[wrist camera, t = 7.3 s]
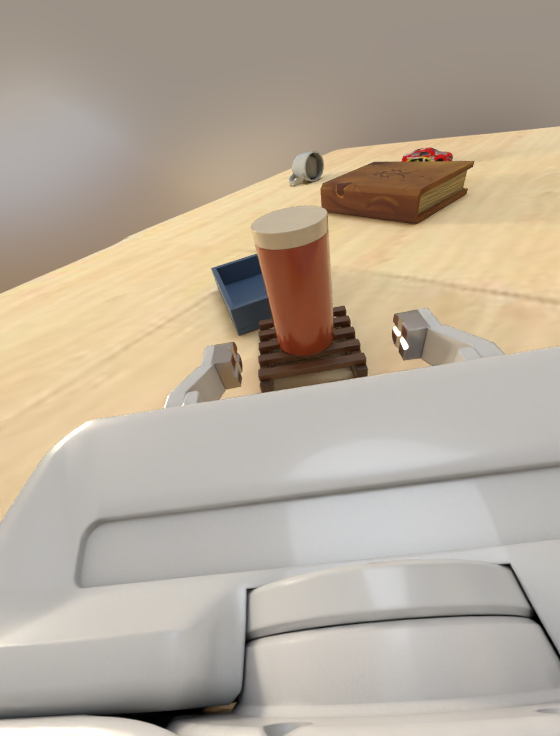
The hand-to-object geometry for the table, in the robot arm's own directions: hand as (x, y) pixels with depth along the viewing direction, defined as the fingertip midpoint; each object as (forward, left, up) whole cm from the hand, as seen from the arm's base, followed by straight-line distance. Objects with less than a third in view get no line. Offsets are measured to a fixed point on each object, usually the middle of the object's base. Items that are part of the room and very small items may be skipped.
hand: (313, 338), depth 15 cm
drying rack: (+12, +3, -11) cm, 17 cm away
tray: (+25, +11, -11) cm, 29 cm away
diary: (+62, -8, -12) cm, 63 cm away
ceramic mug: (+97, +16, -12) cm, 99 cm away
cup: (+12, +3, -9) cm, 15 cm away
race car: (+93, -19, -12) cm, 95 cm away
